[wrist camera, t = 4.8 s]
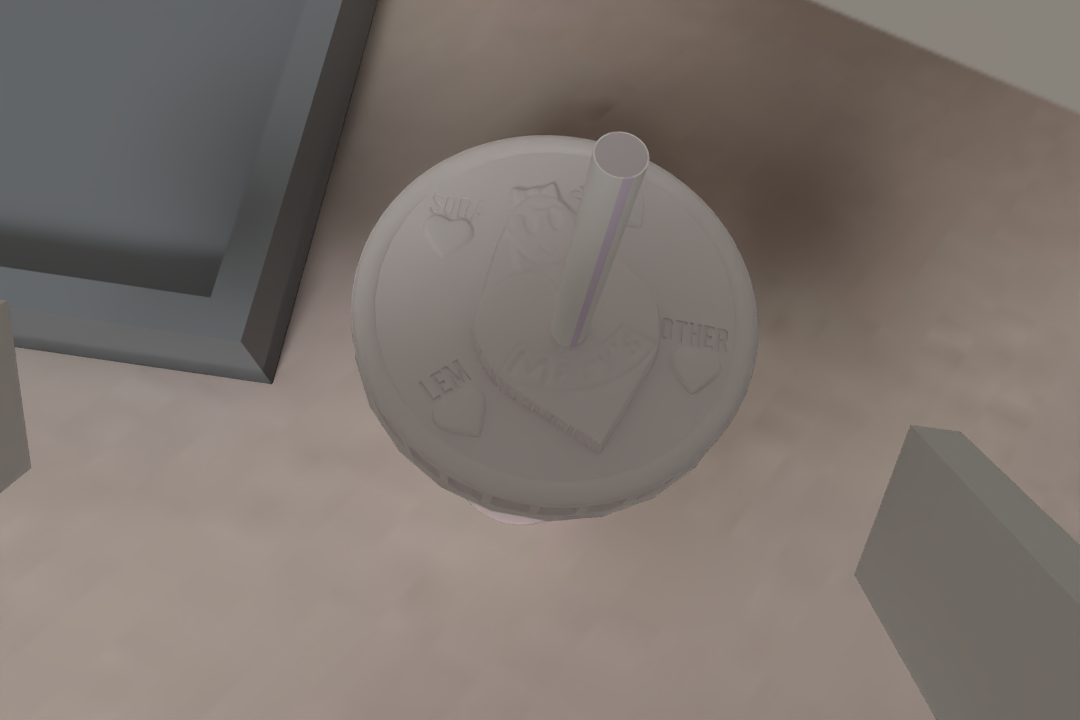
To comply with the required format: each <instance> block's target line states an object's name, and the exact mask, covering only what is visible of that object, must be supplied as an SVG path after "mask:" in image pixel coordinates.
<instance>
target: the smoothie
mask: <svg viewBox="0 0 1080 720" xmlns="http://www.w3.org/2000/svg"><path fill="white" fill-rule="evenodd" d="M351 327H352V337H353V342H354V347H355V359H356V363H357V366H358V369H359V372H360V376H361V379H362V382H363V385H364V389H365V392H366V395H367V398H368V402H369V405H370V407H371V409H372V411H373V412H374V414H375V415H376V417H377V418H378V420H379V421H380V423H381V424H382V426H383V427H384V429H385V430H386V432H387V433H388V435H389V436H390V438H391V439H392V441H393V442H394V444H395V445H396V447H397V449H398V450H399V451H400V452H401V453H402V454H403V455H404V456H406V457H407V458H408V459H409V460H410V461H411V462H412V463H414V464H415V465H416V466H417V467H418V468H419V469H421V470H422V471H423V472H424V473H425V474H426V475H427V476H429V477H430V478H431V479H432V480H433V481H434V482H436V483H437V484H438V485H439V486H440V487H442V488H444V489H446V490H448V491H450V492H452V493H454V494H457V495H459V496H461V497H463V498H465V499H467V500H468V501H469V502H470V503H471V504H472V505H473V506H474V507H475V508H476V509H477V510H479V511H480V512H482V513H483V514H485V515H486V516H488V517H490V518H492V519H494V520H497V521H500V522H503V523H508V524H515V525H526V524H534V523H538V522H542V521H557V520H569V519H581V518H594V517H603V516H606V515H608V514H611V513H614V512H617V511H619V510H622V509H625V508H628V507H630V506H633V505H636V504H638V503H641V502H644V501H647V500H649V499H652V498H654V497H655V496H657V495H658V494H659V493H661V492H662V491H663V490H665V489H666V488H668V487H669V486H670V485H672V484H673V483H674V482H676V481H677V480H678V479H680V478H681V477H683V476H684V475H685V474H687V473H688V472H689V471H691V470H692V469H693V468H695V467H696V465H697V464H698V463H699V461H700V460H701V459H702V457H703V456H704V455H705V453H706V452H707V451H708V449H709V448H710V447H711V446H712V445H713V444H714V443H715V442H716V441H717V440H718V438H719V437H720V436H721V435H722V433H723V432H724V431H725V430H726V428H727V427H728V425H729V424H730V422H731V421H732V419H733V417H734V416H735V414H736V413H737V411H738V409H739V407H740V405H741V403H742V401H743V399H744V396H745V394H746V392H747V389H748V386H749V383H750V380H751V377H752V373H753V369H754V365H755V360H756V354H757V345H758V315H757V305H756V300H755V295H754V290H753V286H752V282H751V279H750V276H749V273H748V270H747V267H746V265H745V263H744V260H743V258H742V255H741V253H740V251H739V249H738V248H737V246H736V244H735V242H734V240H733V238H732V237H731V235H730V234H729V232H728V231H727V229H726V228H725V226H724V225H723V223H722V222H721V221H720V219H719V218H718V217H717V216H716V214H715V213H714V212H713V211H712V209H711V208H710V207H709V206H708V205H707V204H706V203H705V202H704V201H703V200H702V199H701V198H700V197H699V196H698V195H697V194H696V193H695V192H694V191H692V190H691V189H690V188H689V187H688V186H687V185H686V184H684V183H683V182H682V181H680V180H679V179H678V178H676V177H675V176H674V175H672V174H671V173H669V172H668V171H666V170H664V169H663V168H661V167H660V166H658V165H656V164H655V163H653V162H651V161H649V152H648V149H647V147H646V145H645V144H644V143H643V142H642V141H641V140H640V139H639V138H638V137H636V136H635V135H632V134H630V133H627V132H620V131H617V132H610V133H607V134H605V135H603V136H602V137H600V138H599V139H598V140H597V141H594V140H590V139H584V138H577V137H571V136H558V135H530V136H519V137H512V138H506V139H501V140H496V141H492V142H488V143H485V144H481V145H478V146H475V147H472V148H470V149H467V150H464V151H462V152H460V153H457V154H455V155H453V156H451V157H449V158H447V159H445V160H443V161H442V162H440V163H438V164H436V165H435V166H433V167H431V168H430V169H429V170H427V171H426V172H424V173H423V174H422V175H420V176H419V177H417V178H416V179H415V180H414V181H413V182H412V183H410V184H409V185H408V186H407V187H406V188H405V189H404V190H403V191H402V192H401V193H400V194H399V195H398V196H397V197H396V198H395V199H394V200H393V201H392V202H391V204H390V205H389V206H388V207H387V209H386V210H385V211H384V213H383V214H382V215H381V217H380V218H379V220H378V221H377V223H376V225H375V226H374V228H373V230H372V231H371V233H370V235H369V237H368V239H367V241H366V244H365V246H364V248H363V251H362V253H361V256H360V259H359V262H358V265H357V269H356V273H355V277H354V281H353V289H352V297H351Z"/></svg>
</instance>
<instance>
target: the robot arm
mask: <svg viewBox="0 0 1080 720" xmlns="http://www.w3.org/2000/svg"><path fill="white" fill-rule="evenodd" d="M30 468H31V463H30V456H29V449H28V441H27V434H26V427H25V420H24V412H23V405H22V398H21V391H20V383H19V376H18V369H17V362H16V354H15V347H14V340H13V333H12V325H11V318H10V311H9V304H8V300H0V493H1V492H2V491H3V490H5V489H6V488H7V487H8V486H9V485H11V484H12V483H13V482H14V481H16V480H17V479H18V478H19V477H21V476H22V475H23V474H24V473H26V472H27V471H28V470H29V469H30ZM854 575H855V577H856V578H857V580H858V582H859V584H860V586H861V587H862V589H863V591H864V593H865V594H866V596H867V598H868V600H869V601H870V603H871V605H872V607H873V609H874V610H875V612H876V614H877V616H878V617H879V619H880V621H881V623H882V624H883V626H884V628H885V630H886V631H887V633H888V635H889V637H890V639H891V640H892V642H893V644H894V646H895V647H896V649H897V651H898V653H899V654H900V656H901V658H902V660H903V662H904V663H905V665H906V667H907V669H908V670H909V672H910V674H911V676H912V677H913V679H914V681H915V683H916V685H917V686H918V688H919V690H920V692H921V693H922V695H923V697H924V699H925V700H926V702H927V704H928V706H929V707H930V709H931V711H932V713H933V715H934V716H935V718H936V720H1080V545H1079V544H1078V543H1077V542H1076V541H1075V540H1074V539H1072V538H1071V537H1070V536H1069V535H1068V534H1067V533H1066V532H1065V531H1064V530H1063V529H1062V528H1061V527H1060V526H1059V525H1058V524H1057V523H1056V522H1055V521H1054V520H1053V519H1051V518H1050V517H1049V516H1048V515H1047V514H1046V513H1045V512H1044V511H1043V510H1042V509H1041V508H1040V507H1039V506H1038V505H1037V504H1036V503H1035V502H1034V501H1033V500H1032V499H1031V498H1029V497H1028V496H1027V495H1026V494H1025V493H1024V492H1023V491H1022V490H1021V489H1020V488H1019V487H1018V486H1017V485H1016V484H1015V483H1014V482H1013V481H1012V480H1011V479H1010V478H1009V477H1007V476H1006V475H1005V474H1004V473H1003V472H1002V471H1001V470H1000V469H999V468H998V467H997V466H996V465H995V464H994V463H993V462H992V461H991V460H990V459H989V458H988V457H986V456H985V455H984V454H983V453H982V452H981V451H980V450H979V449H978V448H977V447H976V446H975V445H974V444H973V443H972V442H971V441H970V440H969V439H968V438H967V437H966V436H964V435H963V434H962V433H961V432H958V431H950V430H943V429H936V428H929V427H921V426H914V425H910V428H909V431H908V433H907V436H906V439H905V441H904V444H903V447H902V449H901V452H900V454H899V457H898V460H897V462H896V465H895V468H894V470H893V473H892V476H891V478H890V481H889V484H888V486H887V489H886V492H885V494H884V497H883V500H882V502H881V505H880V508H879V510H878V513H877V516H876V518H875V521H874V524H873V526H872V529H871V532H870V534H869V537H868V540H867V542H866V545H865V547H864V550H863V553H862V555H861V558H860V561H859V563H858V566H857V569H856V571H855V574H854Z"/></svg>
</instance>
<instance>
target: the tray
mask: <svg viewBox="0 0 1080 720" xmlns="http://www.w3.org/2000/svg"><path fill="white" fill-rule="evenodd" d="M376 3H377V0H0V300H8V304H9V311H10V318H11V325H12V333H13V340H14V347H20V348H27V349H34V350H41V351H47V352H54V353H61V354H68V355H75V356H82V357H89V358H96V359H103V360H110V361H116V362H123V363H130V364H137V365H144V366H151V367H158V368H165V369H172V370H179V371H185V372H192V373H199V374H206V375H213V376H220V377H227V378H234V379H241V380H248V381H254V382H261V383H268V384H272V382H273V378H274V374H275V371H276V367H277V363H278V360H279V356H280V353H281V349H282V345H283V342H284V338H285V334H286V331H287V327H288V323H289V320H290V316H291V312H292V309H293V305H294V302H295V298H296V294H297V291H298V287H299V283H300V280H301V276H302V272H303V269H304V265H305V262H306V258H307V254H308V251H309V247H310V243H311V240H312V236H313V232H314V229H315V225H316V221H317V218H318V214H319V211H320V207H321V203H322V200H323V196H324V192H325V189H326V185H327V181H328V178H329V174H330V171H331V167H332V163H333V160H334V156H335V152H336V149H337V145H338V141H339V138H340V134H341V130H342V127H343V123H344V120H345V116H346V112H347V109H348V105H349V101H350V98H351V94H352V90H353V87H354V83H355V80H356V76H357V72H358V69H359V65H360V61H361V58H362V54H363V50H364V47H365V43H366V39H367V36H368V32H369V29H370V25H371V21H372V18H373V14H374V10H375V7H376Z"/></svg>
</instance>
